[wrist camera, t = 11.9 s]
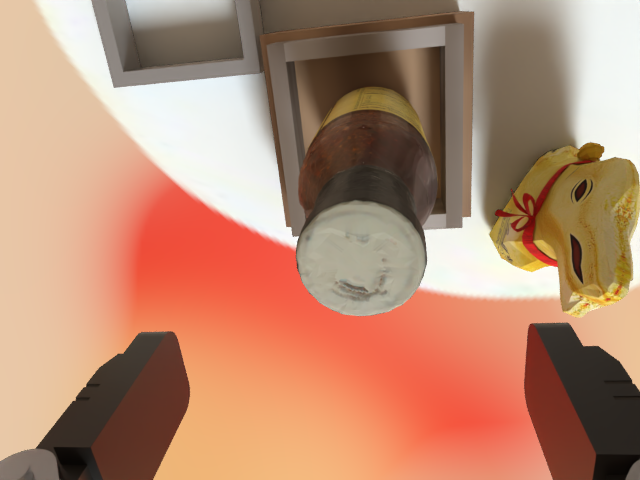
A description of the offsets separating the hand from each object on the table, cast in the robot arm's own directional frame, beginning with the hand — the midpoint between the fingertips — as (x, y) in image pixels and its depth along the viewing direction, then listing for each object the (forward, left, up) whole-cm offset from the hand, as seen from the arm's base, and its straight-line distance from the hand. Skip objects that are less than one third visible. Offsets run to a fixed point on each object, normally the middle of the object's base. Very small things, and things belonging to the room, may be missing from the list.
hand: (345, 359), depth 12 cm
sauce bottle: (0, 0, -24) cm, 24 cm away
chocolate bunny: (-12, +7, -31) cm, 34 cm away
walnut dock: (0, 0, -30) cm, 30 cm away
